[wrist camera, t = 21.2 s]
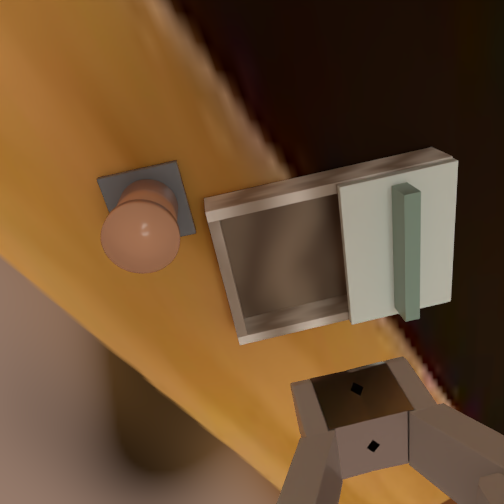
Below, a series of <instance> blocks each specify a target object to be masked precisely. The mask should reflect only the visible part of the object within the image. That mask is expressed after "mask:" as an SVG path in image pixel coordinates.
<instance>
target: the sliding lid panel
mask: <svg viewBox="0 0 504 504" xmlns="http://www.w3.org/2000/svg"><path fill="white" fill-rule="evenodd" d="M457 174H458V160H456V159H449V160H445V161H441V162H436V163H432V164H427V165H423V166H419V167H414V168H410V169H405V170H401V171H396V172H392V173H388V174H383V175H379V176H374V177H370V178H366V179H361V180H357V181H352V182H348V183H343V184H339V185H337V190H338V201H339V212H340V222H341V233H342V244H343V255H344V266H345V277H346V288H347V298H348V309H349V320H350V322H351V324H352V325H353V324H357V323H361V322H365V321H369V320H374V319H378V318H382V317H386V316H390V315H395V314H400V315H401V316H402V318H403V319H404V320H405V322H407V321H411V320H415V319H420V308H424V307H428V306H433V305H437V304H441V303H445V302H450V301H451V286H452V268H453V249H454V230H455V212H456V193H457Z"/></svg>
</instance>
